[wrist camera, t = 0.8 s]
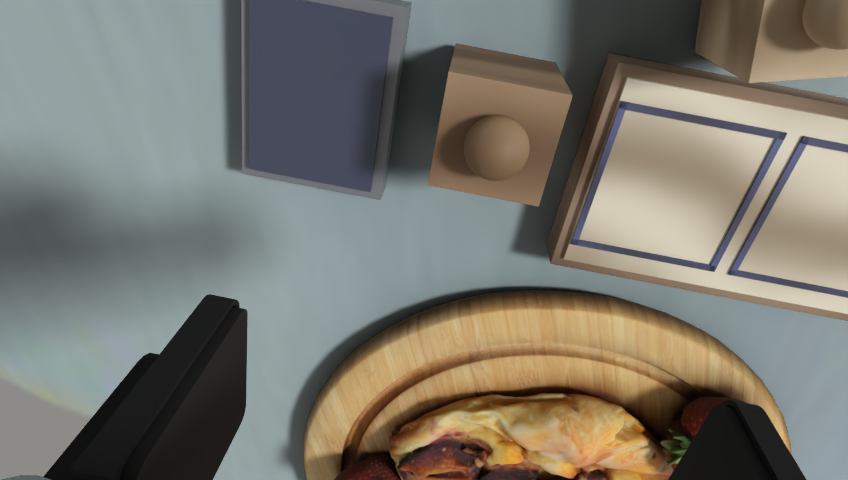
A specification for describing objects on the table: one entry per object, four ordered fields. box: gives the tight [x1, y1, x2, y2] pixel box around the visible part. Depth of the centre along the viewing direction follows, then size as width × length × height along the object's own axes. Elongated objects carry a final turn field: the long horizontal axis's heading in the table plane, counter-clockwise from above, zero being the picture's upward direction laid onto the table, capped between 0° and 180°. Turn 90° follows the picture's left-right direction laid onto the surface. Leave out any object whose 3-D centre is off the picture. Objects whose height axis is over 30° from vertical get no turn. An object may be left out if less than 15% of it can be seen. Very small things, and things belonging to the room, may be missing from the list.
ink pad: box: [241, 0, 411, 200], centre depth 25 cm, size 9×7×2 cm
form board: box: [547, 53, 848, 321], centre depth 25 cm, size 10×16×2 cm, turn 81°
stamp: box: [428, 44, 573, 207], centre depth 22 cm, size 4×4×8 cm
